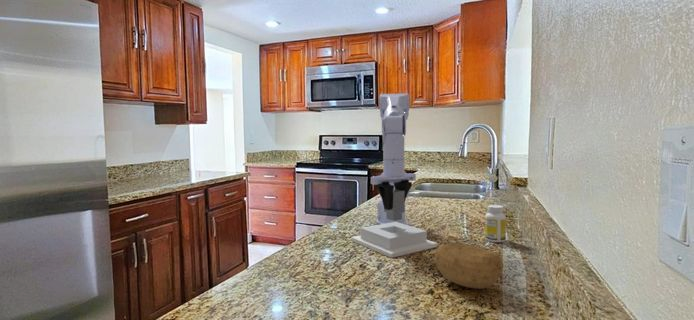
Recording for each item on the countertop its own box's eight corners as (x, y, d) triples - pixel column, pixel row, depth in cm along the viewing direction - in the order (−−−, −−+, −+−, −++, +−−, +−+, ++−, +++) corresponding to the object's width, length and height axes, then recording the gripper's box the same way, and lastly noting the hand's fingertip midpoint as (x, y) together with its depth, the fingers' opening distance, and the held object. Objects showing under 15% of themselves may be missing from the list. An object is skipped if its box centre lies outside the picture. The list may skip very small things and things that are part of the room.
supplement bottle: (502, 237, 107) (502, 204, 106) (508, 243, 101) (509, 208, 101) (482, 237, 107) (483, 204, 107) (488, 242, 102) (488, 208, 101)
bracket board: (351, 240, 105) (351, 226, 105) (394, 232, 114) (394, 219, 114) (391, 257, 90) (391, 242, 90) (437, 246, 99) (437, 232, 99)
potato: (450, 269, 82) (450, 234, 82) (512, 289, 72) (513, 249, 71) (422, 281, 76) (423, 243, 75) (486, 304, 65) (486, 260, 65)
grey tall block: (384, 218, 102) (383, 190, 102) (395, 216, 104) (394, 188, 104) (393, 221, 99) (393, 192, 98) (404, 219, 101) (404, 190, 101)
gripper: (382, 161, 93) (382, 214, 94) (423, 158, 101) (423, 207, 102) (365, 160, 99) (366, 209, 100) (406, 157, 107) (406, 203, 108)
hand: (393, 208), depth 102 cm, fingers closed on grey tall block, 4 cm apart
